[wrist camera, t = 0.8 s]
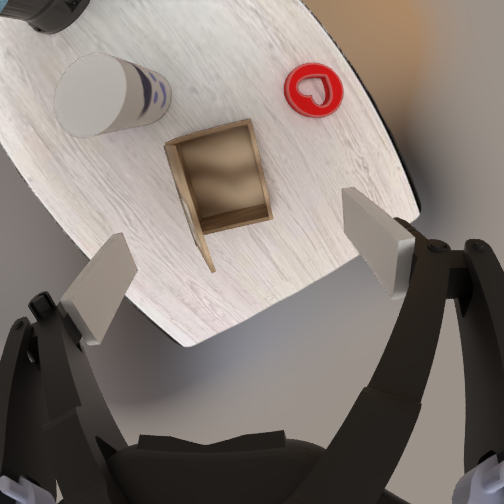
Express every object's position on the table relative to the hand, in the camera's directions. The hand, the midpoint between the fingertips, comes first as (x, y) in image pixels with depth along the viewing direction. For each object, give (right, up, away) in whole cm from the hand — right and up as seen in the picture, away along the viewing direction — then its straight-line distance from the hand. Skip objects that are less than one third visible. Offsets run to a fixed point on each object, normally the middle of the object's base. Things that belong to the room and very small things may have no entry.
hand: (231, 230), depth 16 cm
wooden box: (-4, +13, +31) cm, 34 cm away
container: (-17, +25, +24) cm, 39 cm away
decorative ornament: (+11, +26, +25) cm, 38 cm away
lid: (-7, +5, +19) cm, 21 cm away
